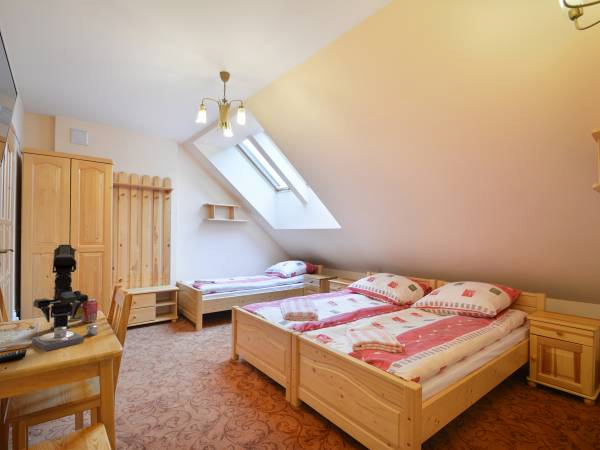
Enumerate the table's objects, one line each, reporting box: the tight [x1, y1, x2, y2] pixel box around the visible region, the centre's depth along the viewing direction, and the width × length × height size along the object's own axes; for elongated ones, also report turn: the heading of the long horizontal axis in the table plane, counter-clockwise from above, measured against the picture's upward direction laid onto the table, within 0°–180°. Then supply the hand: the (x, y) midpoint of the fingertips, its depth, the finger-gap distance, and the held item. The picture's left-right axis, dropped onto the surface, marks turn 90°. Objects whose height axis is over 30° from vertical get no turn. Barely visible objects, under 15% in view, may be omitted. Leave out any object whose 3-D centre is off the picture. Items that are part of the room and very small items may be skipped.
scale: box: [31, 329, 85, 352], centre depth 138 cm, size 15×14×3 cm
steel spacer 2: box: [85, 324, 99, 337], centre depth 151 cm, size 4×4×4 cm
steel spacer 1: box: [53, 326, 68, 339], centre depth 137 cm, size 4×4×4 cm
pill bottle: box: [69, 304, 83, 321], centre depth 175 cm, size 6×6×12 cm
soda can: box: [81, 298, 99, 324], centre depth 171 cm, size 7×7×12 cm
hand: (61, 320), depth 137 cm, fingers open, 9 cm apart
